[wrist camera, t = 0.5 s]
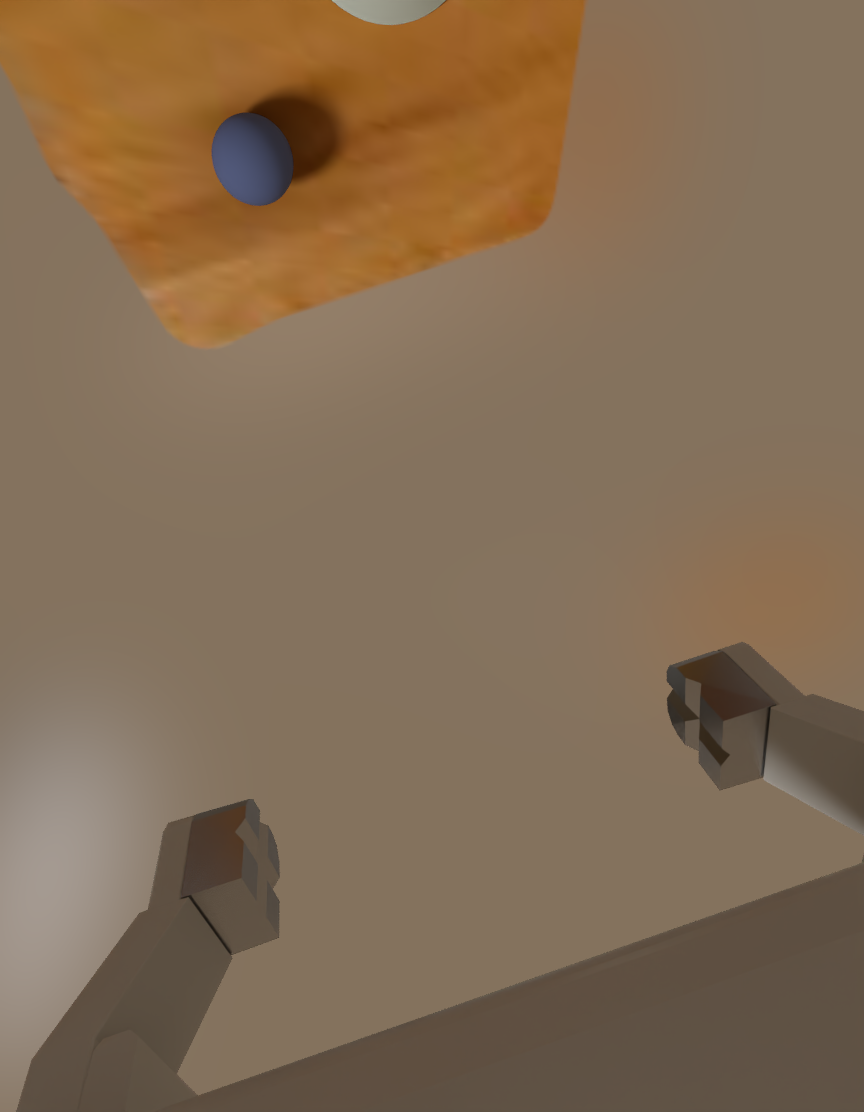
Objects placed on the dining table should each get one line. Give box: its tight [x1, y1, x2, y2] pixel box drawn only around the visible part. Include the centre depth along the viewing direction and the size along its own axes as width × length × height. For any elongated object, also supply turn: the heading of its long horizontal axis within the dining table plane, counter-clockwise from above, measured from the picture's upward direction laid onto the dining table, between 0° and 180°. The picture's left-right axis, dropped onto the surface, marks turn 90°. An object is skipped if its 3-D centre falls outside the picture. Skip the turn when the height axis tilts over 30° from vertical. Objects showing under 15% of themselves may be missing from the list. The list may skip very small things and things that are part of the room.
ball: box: [212, 113, 293, 206], centre depth 44 cm, size 6×6×6 cm
